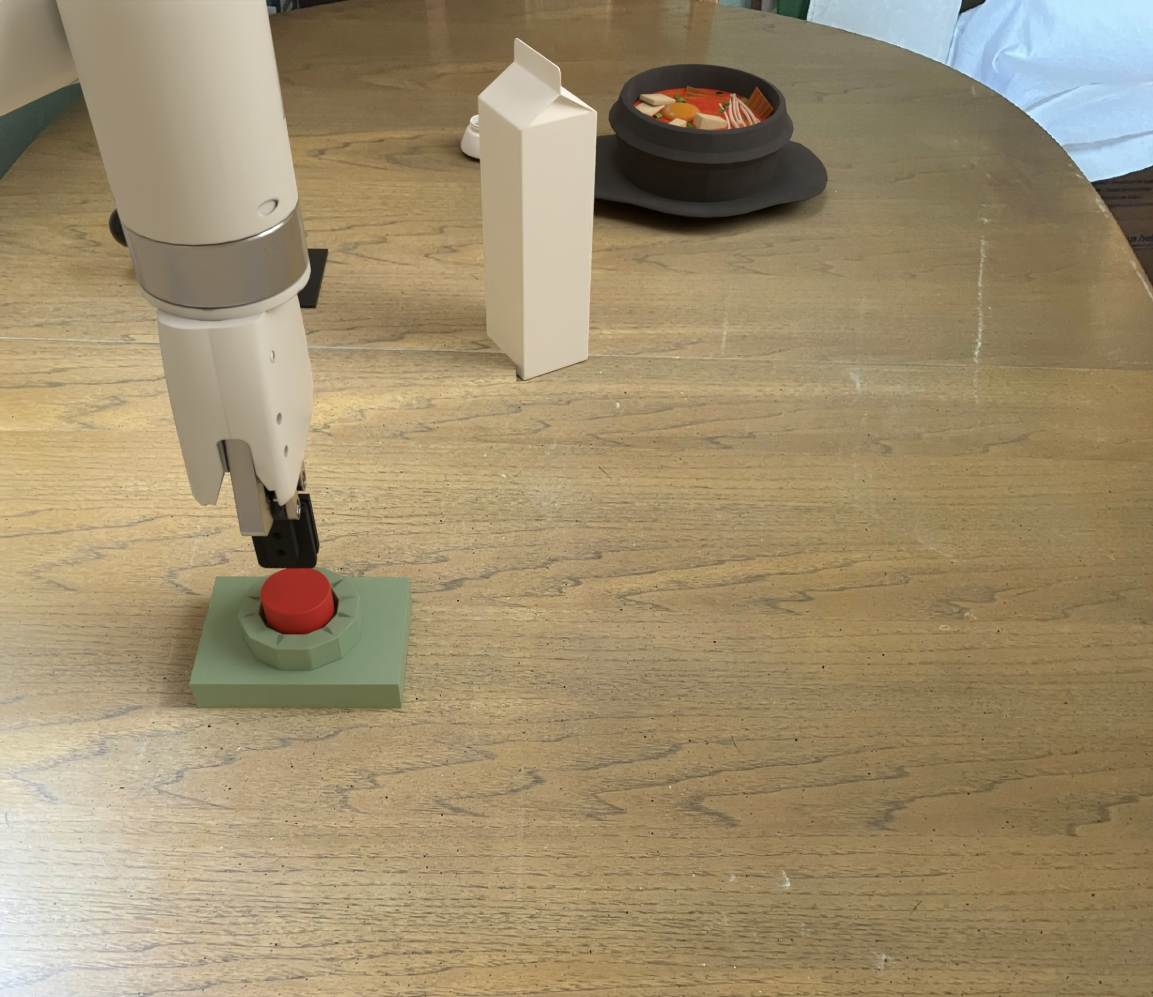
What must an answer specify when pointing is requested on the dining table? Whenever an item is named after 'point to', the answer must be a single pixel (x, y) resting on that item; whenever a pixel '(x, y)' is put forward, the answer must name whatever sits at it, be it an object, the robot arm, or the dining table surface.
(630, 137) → the casserole
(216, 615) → the button block
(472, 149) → the lidless jar
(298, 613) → the button
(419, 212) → the dining table surface
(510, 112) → the milk
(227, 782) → the dining table surface
